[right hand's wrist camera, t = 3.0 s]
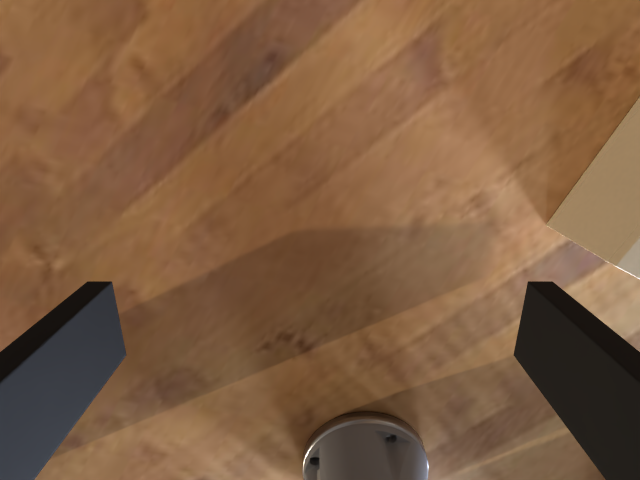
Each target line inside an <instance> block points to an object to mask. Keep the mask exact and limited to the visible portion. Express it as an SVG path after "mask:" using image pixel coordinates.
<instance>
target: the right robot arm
mask: <svg viewBox="0 0 640 480" xmlns="http://www.w3.org/2000/svg"><path fill="white" fill-rule="evenodd" d="M125 356H126V351H125V346H124V341H123V336H122V330H121V325H120V320H119V315H118V310H117V305H116V300H115V295H114V290H113V285H112V282H87V283H85V284H84V285H83V286H82V287H80V288H79V289H78V290H77V291H75V292H74V293H73V294H72V295H70V296H69V297H68V298H67V299H65V300H64V301H63V302H62V303H61V304H59V305H58V306H57V307H56V308H54V309H53V310H52V311H51V312H49V313H48V314H47V315H46V316H44V317H43V318H42V319H41V320H39V321H38V322H37V323H36V324H35V325H33V326H32V327H31V328H30V329H28V330H27V331H26V332H25V333H23V334H22V335H21V336H20V337H18V338H17V339H16V340H15V341H14V342H12V343H11V344H10V345H9V346H7V347H6V348H5V349H4V350H2V351H1V352H0V480H34V479H35V478H36V476H37V475H38V474H39V472H40V471H41V470H42V468H43V467H44V466H45V464H46V463H47V462H48V460H49V459H50V458H51V456H52V455H53V453H54V452H55V451H56V449H57V448H58V447H59V445H60V444H61V443H62V441H63V440H64V439H65V437H66V436H67V435H68V433H69V432H70V431H71V429H72V428H73V426H74V425H75V424H76V422H77V421H78V420H79V418H80V417H81V416H82V414H83V413H84V412H85V410H86V409H87V408H88V406H89V405H90V404H91V402H92V401H93V399H94V398H95V397H96V395H97V394H98V393H99V391H100V390H101V389H102V387H103V386H104V385H105V383H106V382H107V381H108V379H109V378H110V377H111V375H112V374H113V372H114V371H115V370H116V368H117V367H118V366H119V364H120V363H121V362H122V360H123V359H124V358H125ZM514 356H515V358H516V359H517V360H518V362H519V363H520V364H521V366H522V367H523V368H524V370H525V371H526V373H527V374H528V375H529V377H530V378H531V379H532V381H533V382H534V383H535V385H536V386H537V387H538V389H539V390H540V391H541V393H542V394H543V395H544V397H545V398H546V399H547V401H548V402H549V404H550V405H551V406H552V408H553V409H554V410H555V412H556V413H557V414H558V416H559V417H560V418H561V420H562V421H563V422H564V424H565V425H566V426H567V428H568V429H569V431H570V432H571V433H572V435H573V436H574V437H575V439H576V440H577V441H578V443H579V444H580V445H581V447H582V448H583V449H584V451H585V452H586V453H587V455H588V456H589V458H590V459H591V460H592V462H593V463H594V464H595V466H596V467H597V468H598V470H599V471H600V472H601V474H602V475H603V476H604V478H605V479H606V480H640V352H639V351H638V350H636V349H635V348H634V347H633V346H631V345H630V344H629V343H628V342H626V341H625V340H624V339H623V338H622V337H620V336H619V335H618V334H617V333H615V332H614V331H613V330H612V329H610V328H609V327H608V326H607V325H605V324H604V323H603V322H602V321H601V320H599V319H598V318H597V317H596V316H594V315H593V314H592V313H591V312H589V311H588V310H587V309H586V308H584V307H583V306H582V305H581V304H579V303H578V302H577V301H576V300H575V299H573V298H572V297H571V296H570V295H568V294H567V293H566V292H565V291H563V290H562V289H561V288H560V287H558V286H557V285H556V284H555V283H553V282H528V285H527V290H526V295H525V300H524V305H523V310H522V315H521V320H520V325H519V330H518V336H517V341H516V346H515V351H514ZM303 478H304V480H428V460H427V456H426V453H425V449H424V446H423V443H422V441H421V439H420V437H419V436H418V434H417V433H416V432H415V431H414V430H413V429H412V428H411V427H410V426H409V425H408V424H406V423H405V422H403V421H401V420H399V419H397V418H395V417H393V416H390V415H386V414H382V413H375V412H357V413H351V414H346V415H343V416H340V417H337V418H335V419H333V420H331V421H329V422H327V423H325V424H324V425H322V426H321V427H320V428H319V429H317V431H316V432H315V433H314V434H313V435H312V436H311V437H310V439H309V441H308V442H307V444H306V447H305V450H304V455H303Z"/></svg>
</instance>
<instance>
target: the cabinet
mask: <svg viewBox="0 0 640 480" xmlns="http://www.w3.org/2000/svg"><path fill="white" fill-rule="evenodd" d="M546 226H548V227H549V228H551V229H553V230H555V231H556V232H558V233H560V234H561V235H563V236H565V237H566V238H568V239H570V240H571V241H573V242H575V243H577V244H578V245H580V246H582V247H583V248H585V249H587V250H588V251H590V252H592V253H593V254H595V255H597V256H599V257H600V258H602V259H604V260H605V261H607V262H609V263H610V264H612V265H614V266H615V267H617V268H619V269H621V270H623V271H625V272H627V273H629V274H631V275H633V276H635V277H636V278H638V279H640V97H639V98H638V100H637V101H636V103H635V104H634V105H633V107H632V108H631V109H630V111H629V112H628V113H627V115H626V116H625V118H624V119H623V120H622V122H621V123H620V124H619V126H618V127H617V128H616V130H615V131H614V133H613V134H612V135H611V137H610V138H609V139H608V141H607V142H606V144H605V145H604V146H603V148H602V149H601V150H600V152H599V153H598V154H597V156H596V157H595V159H594V160H593V161H592V163H591V164H590V165H589V167H588V168H587V170H586V171H585V172H584V174H583V175H582V176H581V178H580V179H579V180H578V182H577V183H576V185H575V186H574V187H573V189H572V190H571V191H570V193H569V194H568V195H567V197H566V198H565V200H564V201H563V202H562V204H561V205H560V206H559V208H558V209H557V211H556V212H555V213H554V215H553V216H552V217H551V219H550V220H549V221H548V223H547V224H546Z"/></svg>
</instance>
